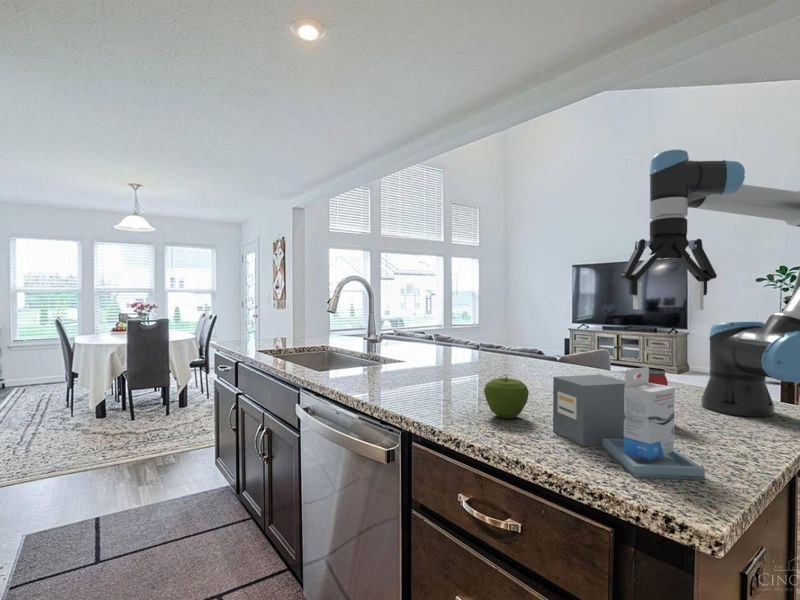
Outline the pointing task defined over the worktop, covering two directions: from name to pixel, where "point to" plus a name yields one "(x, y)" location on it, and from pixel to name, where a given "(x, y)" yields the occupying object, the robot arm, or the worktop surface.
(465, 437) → the worktop surface
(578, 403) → the box
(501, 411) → the apple
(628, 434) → the ink box
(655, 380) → the beer can
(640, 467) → the tray
